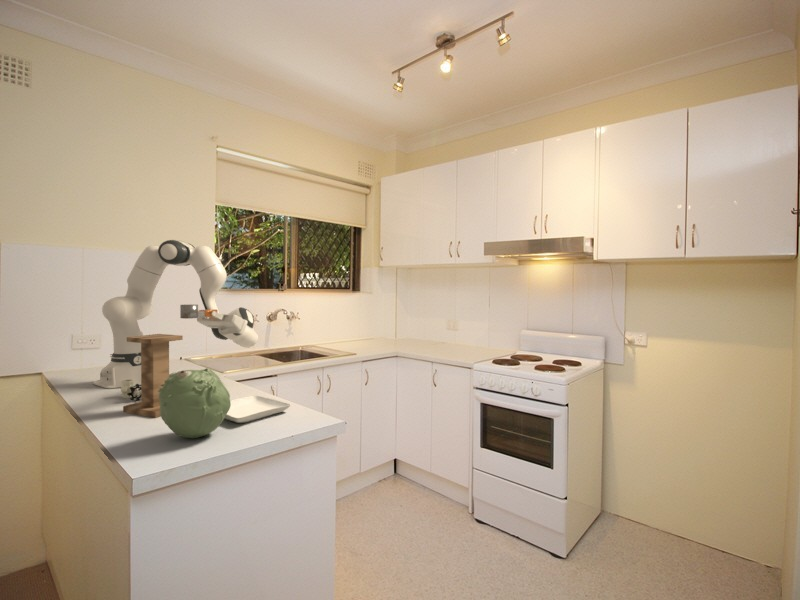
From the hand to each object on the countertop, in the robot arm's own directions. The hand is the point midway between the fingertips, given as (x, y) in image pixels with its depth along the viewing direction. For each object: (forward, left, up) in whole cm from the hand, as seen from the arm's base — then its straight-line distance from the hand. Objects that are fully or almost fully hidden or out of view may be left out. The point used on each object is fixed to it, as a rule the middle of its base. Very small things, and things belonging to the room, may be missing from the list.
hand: (206, 312), depth 163 cm
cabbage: (+34, -35, -34) cm, 59 cm away
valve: (-22, -16, -34) cm, 43 cm away
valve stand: (0, -22, -33) cm, 40 cm away
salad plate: (+32, -12, -34) cm, 48 cm away
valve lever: (0, -3, -2) cm, 4 cm away
